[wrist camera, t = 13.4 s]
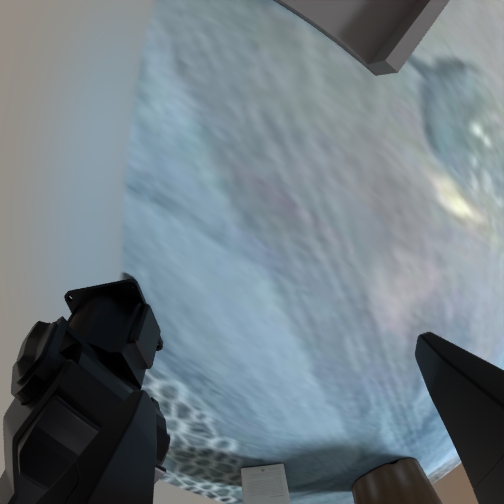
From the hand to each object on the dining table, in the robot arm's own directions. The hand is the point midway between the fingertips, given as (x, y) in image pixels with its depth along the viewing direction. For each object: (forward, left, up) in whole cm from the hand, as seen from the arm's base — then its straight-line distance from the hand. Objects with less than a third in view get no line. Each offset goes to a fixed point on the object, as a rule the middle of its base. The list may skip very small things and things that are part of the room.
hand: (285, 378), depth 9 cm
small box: (-5, -35, -13) cm, 38 cm away
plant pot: (+14, -47, -13) cm, 51 cm away
